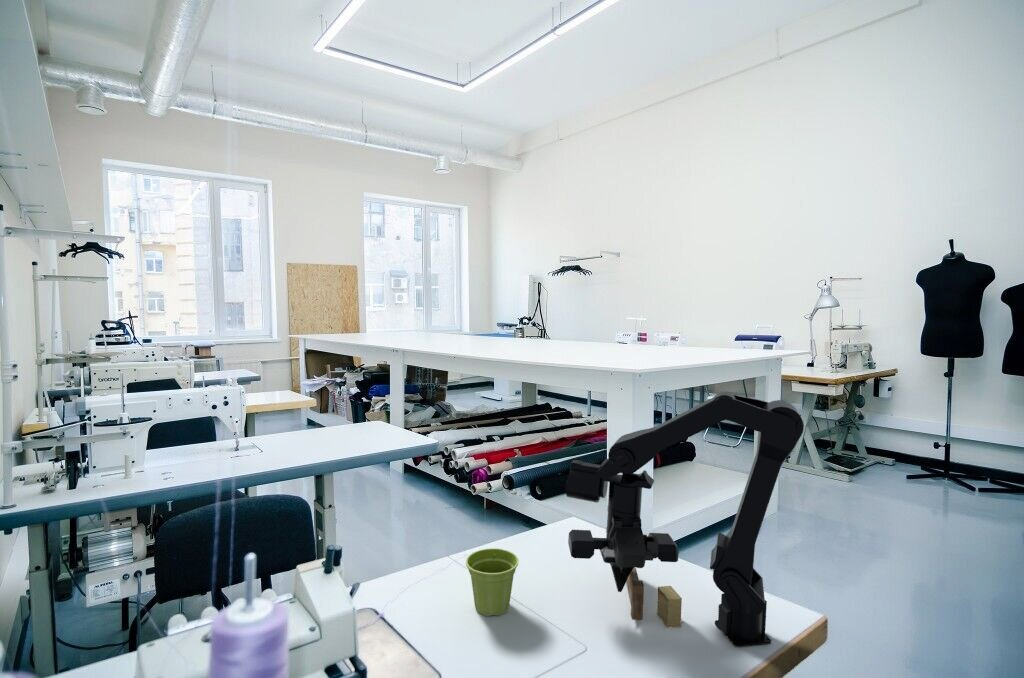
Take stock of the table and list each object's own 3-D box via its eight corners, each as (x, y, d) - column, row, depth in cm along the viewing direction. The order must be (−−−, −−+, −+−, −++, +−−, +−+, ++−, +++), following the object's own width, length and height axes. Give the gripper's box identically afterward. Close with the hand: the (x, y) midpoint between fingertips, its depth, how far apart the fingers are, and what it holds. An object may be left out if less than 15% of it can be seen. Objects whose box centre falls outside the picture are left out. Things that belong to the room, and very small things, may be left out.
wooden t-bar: (623, 578, 103) (624, 548, 103) (633, 578, 103) (634, 549, 103) (632, 619, 90) (633, 585, 90) (642, 620, 90) (644, 586, 89)
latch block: (669, 612, 94) (670, 585, 93) (680, 626, 90) (681, 598, 89) (656, 614, 93) (657, 586, 93) (667, 628, 89) (668, 599, 89)
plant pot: (454, 609, 94) (454, 562, 93) (488, 587, 101) (488, 543, 101) (495, 630, 88) (496, 579, 87) (528, 604, 96) (529, 558, 95)
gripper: (577, 524, 86) (572, 615, 87) (692, 529, 86) (685, 620, 87) (570, 498, 97) (565, 579, 98) (671, 502, 97) (666, 583, 99)
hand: (619, 590), depth 95 cm, fingers closed
